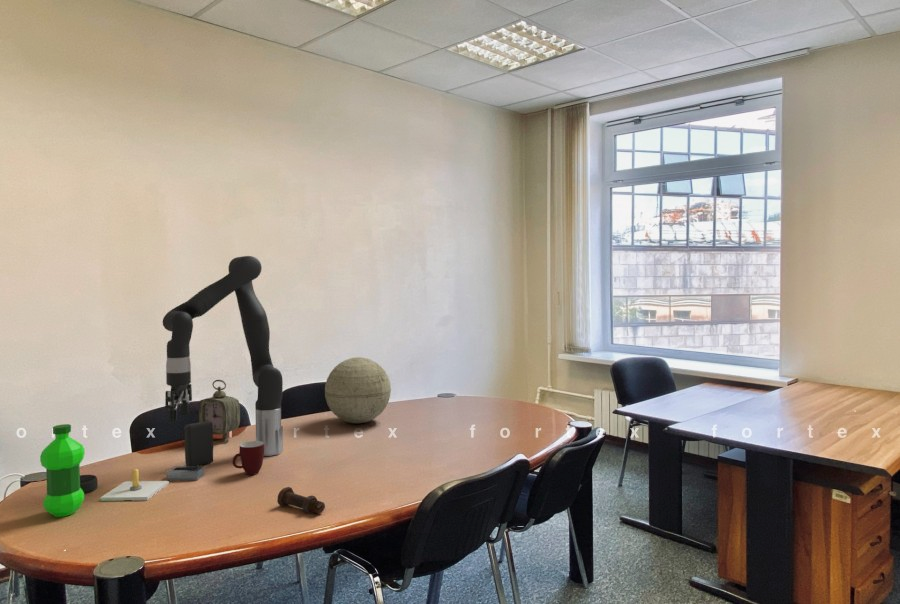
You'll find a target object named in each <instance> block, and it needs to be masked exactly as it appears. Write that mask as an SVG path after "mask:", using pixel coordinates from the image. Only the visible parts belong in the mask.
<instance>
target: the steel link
mask: <svg viewBox="0 0 900 604" xmlns="http://www.w3.org/2000/svg"><path fill="white" fill-rule="evenodd" d="M204 475H205V466H204V465H199V466H186V465H178V466H177V465H175V466H173V467H172V468H170V469H168V470H167V471H166V481H167V480H180V481H199V480H200V479H201V478H202V477H203V476H204ZM200 477H201V478H200ZM199 478H200V479H199ZM198 479H199V480H198Z"/></svg>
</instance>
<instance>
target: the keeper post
mask: <svg viewBox="0 0 900 604" xmlns="http://www.w3.org/2000/svg"><path fill="white" fill-rule="evenodd" d="M139 471H140V470H139V469H138V468H134V469H132V470H131V476H132V479H131V481H130V480H128V481H127V480H126V481H123V482H121V483H120V484H119V485H118V486H116V487H115V488H113V489H111V490H110V491H108V492H107V493H105V494H104V495H102V496H101V497H99V499H100V502H113V501H114V502H118V501H119V502H121V501H122V502H123V501H124V500H132V501H149V500H150V499H151V498H153V497H154V496H155V495H157V494H158V493H159V492H160V491H162V490H163V489H165V488H166V487H167V486H168V485H169V483H170V481H167V480H141V481H140V475H139ZM167 484H168V485H167ZM166 485H167V486H166ZM162 488H163V489H162ZM161 489H162V490H161ZM158 491H159V492H158ZM157 492H158V493H157ZM154 494H155V495H154ZM153 495H154V496H153ZM152 496H153V497H152ZM149 498H150V499H149ZM148 499H149V500H148Z"/></svg>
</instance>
